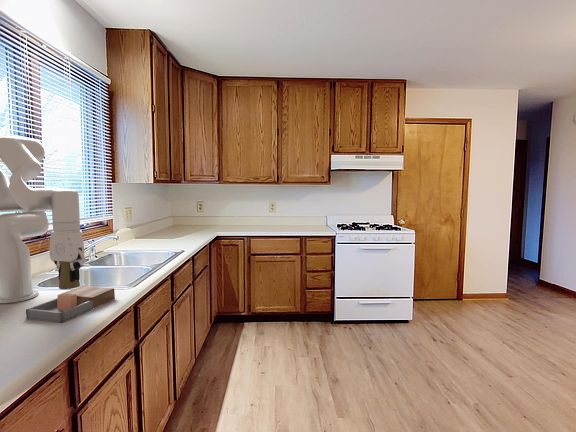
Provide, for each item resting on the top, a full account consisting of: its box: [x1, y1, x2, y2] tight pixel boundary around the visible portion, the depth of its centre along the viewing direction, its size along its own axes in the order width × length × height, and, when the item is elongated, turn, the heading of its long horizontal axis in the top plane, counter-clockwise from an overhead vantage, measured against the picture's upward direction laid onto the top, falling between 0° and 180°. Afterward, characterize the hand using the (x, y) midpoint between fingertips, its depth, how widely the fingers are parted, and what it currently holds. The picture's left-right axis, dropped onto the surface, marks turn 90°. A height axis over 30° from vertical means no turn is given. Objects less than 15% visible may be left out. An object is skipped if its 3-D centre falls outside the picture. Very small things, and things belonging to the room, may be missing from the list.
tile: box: [56, 292, 77, 311], centre depth 110 cm, size 5×5×2 cm
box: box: [25, 297, 93, 324], centre depth 109 cm, size 14×12×3 cm
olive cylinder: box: [58, 261, 81, 290], centre depth 113 cm, size 6×6×11 cm
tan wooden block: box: [58, 285, 116, 309], centre depth 119 cm, size 14×10×4 cm
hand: (69, 279), depth 113 cm, fingers closed on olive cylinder, 3 cm apart
